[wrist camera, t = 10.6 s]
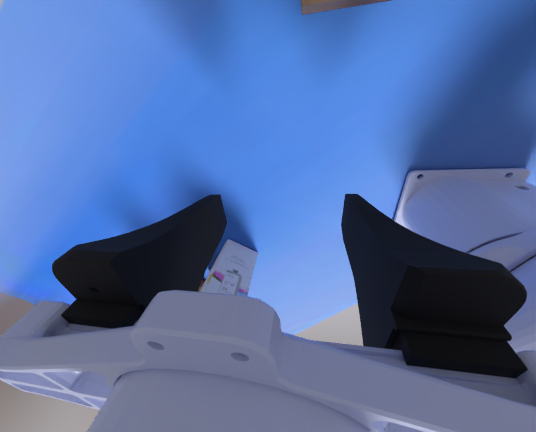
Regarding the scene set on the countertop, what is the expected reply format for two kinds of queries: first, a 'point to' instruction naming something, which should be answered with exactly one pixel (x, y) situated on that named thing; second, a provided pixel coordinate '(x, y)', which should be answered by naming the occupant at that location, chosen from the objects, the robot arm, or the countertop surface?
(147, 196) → the countertop surface
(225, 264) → the ink cartridge box
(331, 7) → the walnut block
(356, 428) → the robot arm
